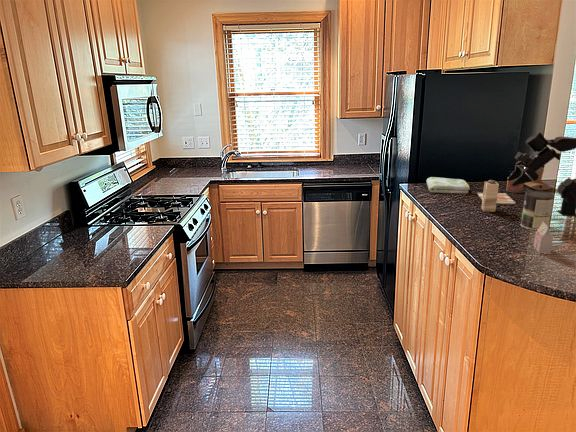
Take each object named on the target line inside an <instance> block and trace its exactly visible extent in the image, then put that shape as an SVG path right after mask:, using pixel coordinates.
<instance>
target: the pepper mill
mask: <svg viewBox="0 0 576 432" xmlns="http://www.w3.org/2000/svg"><path fill="white" fill-rule="evenodd" d="M483 184H484V185H483V192H482V193H483V199H481V200H482V201H481V210H482V211H483V212H490V213H491V212H492V213H495V212H496V209H497V204H496V203H497V195H498V193H499V187H500V184H499V183H498V182H497V181H496V180H493V179H489V180H487V181H484V182H483Z"/></svg>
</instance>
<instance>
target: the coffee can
mask: <svg viewBox="0 0 576 432" xmlns="http://www.w3.org/2000/svg"><path fill="white" fill-rule="evenodd" d="M554 198H555V195H554V194H553V193H551V192H549V191H548V192H547V191H544V190H529V191H528V190H527V191H525V193H524V201H523V208H522V214H521V221H520V227H522V228H523V227H524V229H527V230H529V229H530V231H536V230H537V229H538V228H539V227H540V225H541V223H542V222H544V223H545V224H546V225H547V226H548V227H549V224H550V218H551V214H552V207H553V203H554Z"/></svg>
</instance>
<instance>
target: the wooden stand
mask: <svg viewBox="0 0 576 432" xmlns="http://www.w3.org/2000/svg"><path fill="white" fill-rule="evenodd" d="M544 171H545V167H544V168H542V167H541V168H540V169H539V170H537V171H536V173H537V174H538V175H539V178H538V179H537V180H536V181H533V180H532V182H527V183H523V185H526V187H529V188H530V189H533V190H535V191H545V190H546V191H547V190H550V189H551V188H552V187H551V186H550V185H549V184H547V183H545V182H543V181H542V178H543V174H544Z"/></svg>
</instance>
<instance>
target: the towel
mask: <svg viewBox="0 0 576 432" xmlns="http://www.w3.org/2000/svg"><path fill="white" fill-rule="evenodd" d="M425 180H426V185H427V189H428V191H429V192H430V193H437V194H439V193H440V194H469V191H470V190H471V188H470V185H469V184H468V183H467V181H466V180H464V179H462V178H461V179H460V178H448V177H447V178H446V177H436V176H430V177H428V178H427V179H425Z"/></svg>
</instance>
